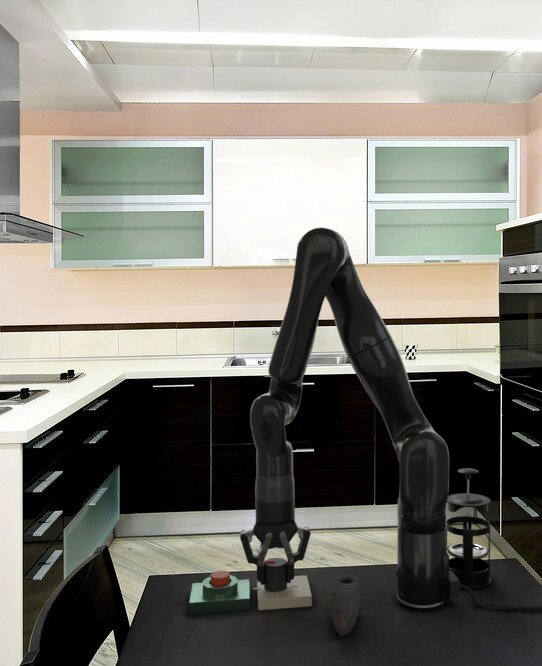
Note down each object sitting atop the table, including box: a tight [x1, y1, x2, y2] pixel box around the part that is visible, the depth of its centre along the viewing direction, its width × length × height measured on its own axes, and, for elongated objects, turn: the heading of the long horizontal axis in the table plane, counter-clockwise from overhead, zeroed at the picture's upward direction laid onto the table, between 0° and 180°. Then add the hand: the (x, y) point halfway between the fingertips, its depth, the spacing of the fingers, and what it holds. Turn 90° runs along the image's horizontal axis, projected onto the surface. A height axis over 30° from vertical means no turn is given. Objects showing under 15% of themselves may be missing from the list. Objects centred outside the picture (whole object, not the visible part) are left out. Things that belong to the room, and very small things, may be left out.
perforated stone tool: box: [330, 570, 361, 637], centre depth 120 cm, size 15×5×7 cm, turn 175°
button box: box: [188, 574, 251, 615], centre depth 129 cm, size 11×9×4 cm
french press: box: [446, 467, 492, 591], centre depth 139 cm, size 12×9×23 cm
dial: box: [264, 557, 288, 592], centre depth 131 cm, size 4×4×5 cm
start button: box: [210, 570, 231, 586], centre depth 129 cm, size 4×4×2 cm
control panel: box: [252, 574, 313, 611], centre depth 131 cm, size 11×10×2 cm
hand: (275, 581), depth 131 cm, fingers closed on dial, 4 cm apart
